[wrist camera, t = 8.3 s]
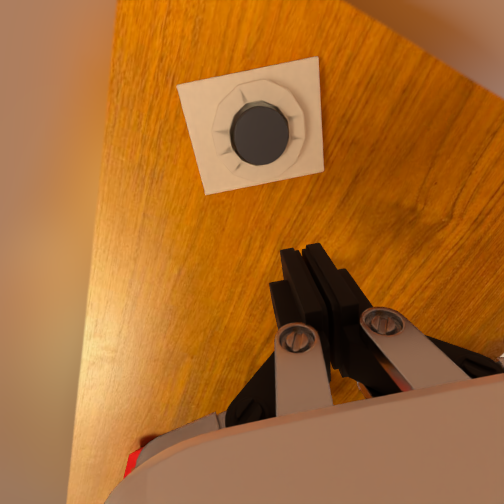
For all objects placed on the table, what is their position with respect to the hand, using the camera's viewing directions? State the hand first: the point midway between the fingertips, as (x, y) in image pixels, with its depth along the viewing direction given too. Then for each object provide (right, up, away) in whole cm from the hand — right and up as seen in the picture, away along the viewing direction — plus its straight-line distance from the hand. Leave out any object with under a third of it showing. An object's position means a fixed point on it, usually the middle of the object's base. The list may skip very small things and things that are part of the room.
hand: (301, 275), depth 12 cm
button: (-2, +9, +8) cm, 12 cm away
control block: (-2, +11, +11) cm, 16 cm away
